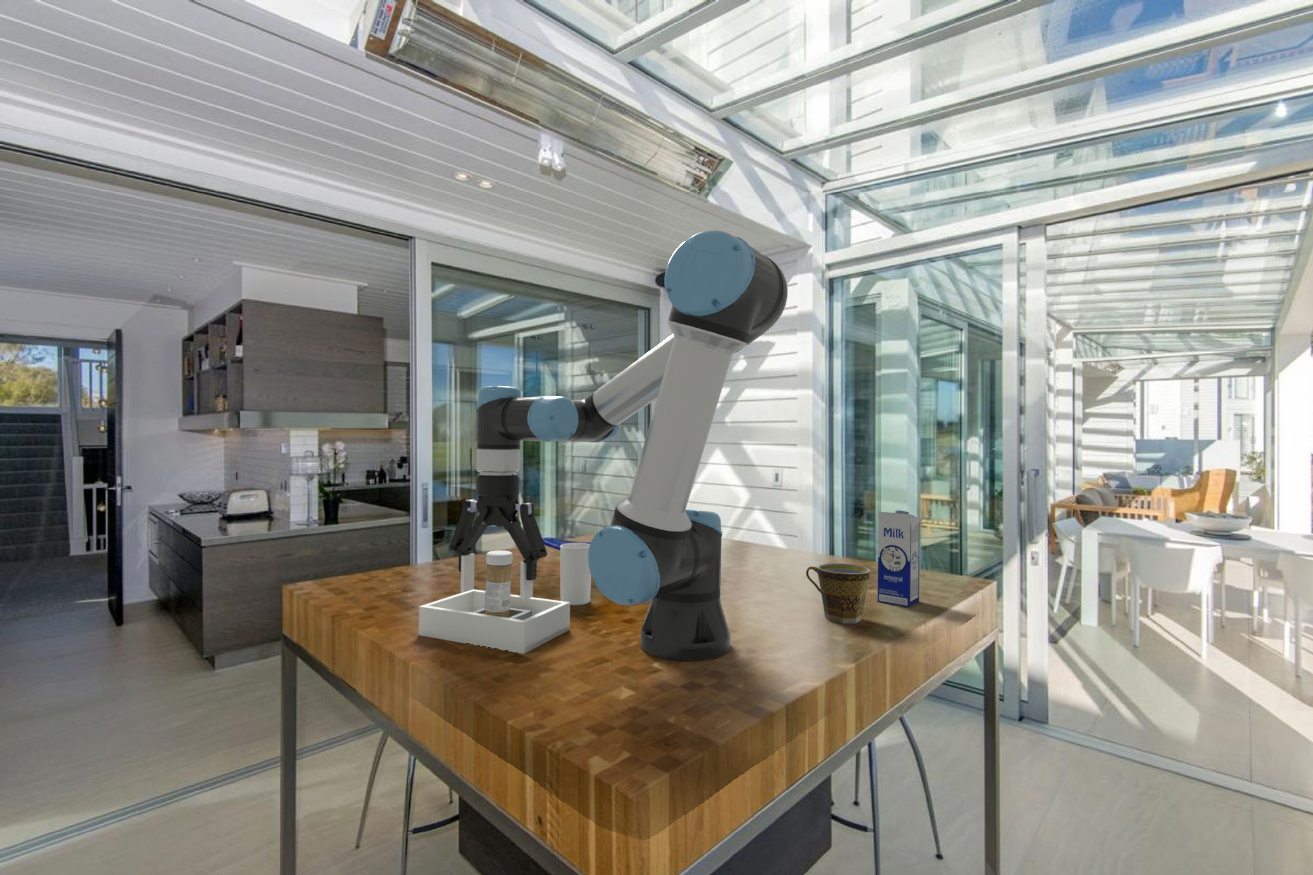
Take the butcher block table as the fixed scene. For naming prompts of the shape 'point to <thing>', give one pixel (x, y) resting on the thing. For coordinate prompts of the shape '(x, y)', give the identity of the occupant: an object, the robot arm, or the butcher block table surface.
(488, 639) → the tray
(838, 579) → the ceramic cup
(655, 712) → the butcher block table surface
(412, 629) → the butcher block table surface
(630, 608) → the butcher block table surface
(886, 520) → the milk carton
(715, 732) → the butcher block table surface
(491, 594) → the sprinkles bottle
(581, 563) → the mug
